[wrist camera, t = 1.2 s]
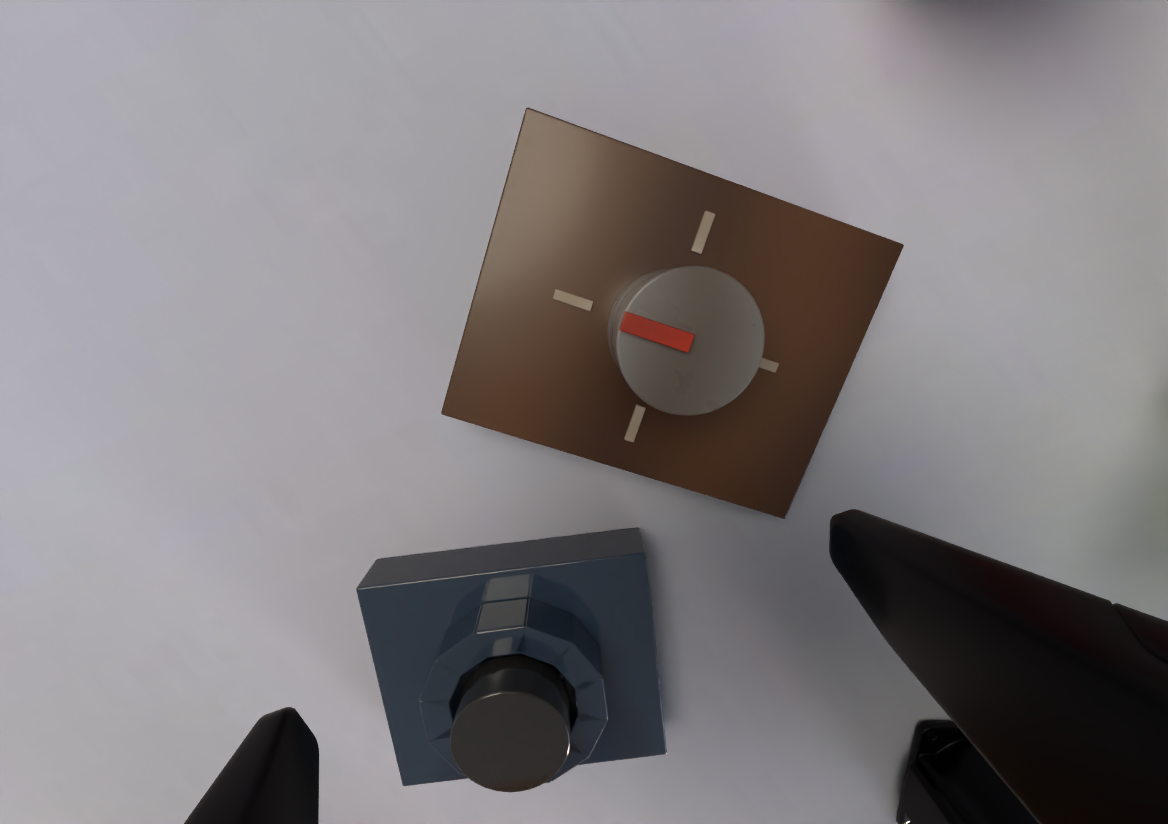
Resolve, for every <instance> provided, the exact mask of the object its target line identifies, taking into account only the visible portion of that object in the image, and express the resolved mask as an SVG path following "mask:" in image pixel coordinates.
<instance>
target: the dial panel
mask: <svg viewBox="0 0 1168 824" xmlns="http://www.w3.org/2000/svg"><path fill="white" fill-rule="evenodd" d="M903 246H904V245H903V244H901V243H898V242H895V241H893V240H890V239H887V238H885V237H882V236H879V235H876V234H874V233H871V232H868V231H865V230H863V229H860V228H857V227H854V226H852V225H849V224H846V223H843V222H841V221H838V220H835V219H832V218H830V217H827V216H824V215H821V214H819V213H816V212H813V211H810V210H808V209H805V208H802V207H799V206H797V205H794V204H791V203H789V202H786V201H783V200H780V199H778V198H775V197H772V196H769V195H767V194H764V193H761V192H758V191H756V190H753V189H750V188H747V187H745V186H742V185H739V184H736V183H734V182H731V181H728V180H725V179H723V178H720V177H717V176H714V175H712V174H709V173H706V172H703V171H701V170H698V169H695V168H693V167H690V166H687V165H684V164H682V163H679V162H676V161H673V160H671V159H668V158H665V157H662V156H660V155H657V154H654V153H651V152H649V151H646V150H643V149H640V148H638V147H635V146H632V145H629V144H627V143H624V142H621V141H618V140H616V139H613V138H610V137H607V136H605V135H602V134H599V133H597V132H594V131H591V130H588V129H586V128H583V127H580V126H577V125H575V124H572V123H569V122H566V121H564V120H561V119H558V118H555V117H553V116H550V115H547V114H544V113H542V112H539V111H536V110H533V109H531V108H526V110H525V114H524V118H523V121H522V125H521V128H520V132H519V135H518V139H517V143H516V146H515V150H514V153H513V157H512V161H511V164H510V168H509V171H508V175H507V178H506V182H505V186H504V189H503V193H502V196H501V200H500V204H499V207H498V211H497V214H496V218H495V222H494V225H493V229H492V232H491V236H490V239H489V243H488V247H487V250H486V254H485V257H484V261H483V265H482V268H481V272H480V275H479V279H478V283H477V286H476V290H475V293H474V297H473V300H472V304H471V308H470V311H469V315H468V318H467V322H466V326H465V329H464V333H463V336H462V340H461V344H460V347H459V351H458V354H457V358H456V361H455V365H454V369H453V372H452V376H451V379H450V383H449V387H448V390H447V394H446V397H445V401H444V405H443V408H442V412H441V414H443V415H446V416H449V417H452V418H456V419H459V420H462V421H466V422H469V423H472V424H475V425H479V426H482V427H485V428H488V429H492V430H495V431H498V432H502V433H505V434H508V435H511V436H515V437H518V438H521V439H524V440H528V441H531V442H534V443H538V444H541V445H544V446H547V447H551V448H554V449H557V450H560V451H564V452H567V453H570V454H574V455H577V456H580V457H583V458H587V459H590V460H593V461H596V462H600V463H603V464H606V465H610V466H613V467H616V468H619V469H623V470H626V471H629V472H632V473H636V474H639V475H642V476H646V477H649V478H652V479H655V480H659V481H662V482H665V483H669V484H672V485H675V486H678V487H682V488H685V489H688V490H691V491H695V492H698V493H701V494H705V495H708V496H711V497H714V498H718V499H721V500H724V501H727V502H731V503H734V504H737V505H741V506H744V507H747V508H750V509H754V510H757V511H760V512H763V513H767V514H770V515H773V516H777V517H780V518H783V519H785V517H786V515H787V513H788V510H789V508H790V506H791V503H792V501H793V499H794V497H795V494H796V492H797V490H798V487H799V485H800V483H801V481H802V478H803V476H804V474H805V471H806V469H807V467H808V464H809V462H810V460H811V458H812V455H813V453H814V451H815V448H816V446H817V444H818V441H819V439H820V437H821V435H822V432H823V430H824V428H825V425H826V423H827V421H828V418H829V416H830V414H831V412H832V409H833V407H834V405H835V402H836V400H837V398H838V395H839V393H840V391H841V389H842V386H843V384H844V382H845V379H846V377H847V375H848V373H849V370H850V368H851V366H852V363H853V361H854V359H855V356H856V354H857V352H858V350H859V347H860V345H861V343H862V340H863V338H864V336H865V333H866V331H867V329H868V327H869V324H870V322H871V320H872V317H873V315H874V313H875V310H876V308H877V306H878V304H879V301H880V299H881V297H882V294H883V292H884V290H885V287H886V285H887V283H888V281H889V278H890V276H891V274H892V271H893V269H894V267H895V265H896V262H897V260H898V258H899V255H900V253H901V251H902V248H903ZM683 266H704V267H710V268H713V269H717V270H720V271H722V272H724V273H727V274H728V275H730V276H732V277H733V278H735V279H736V280H737V281H739V282H740V283H741V284H742V285H743V286H744V287H745V288H746V289H747V290H748V291H749V292H750V294H751V295H752V297H753V298H754V300H755V302H756V304H757V306H758V307H759V310H760V313H761V316H762V319H763V324H764V332H765V342H764V350H763V356H762V359H761V362H760V365H759V367H758V370H757V372H756V374H755V376H754V377H753V379H752V380H751V382H750V383H749V385H748V386H747V387H746V388H745V389H744V391H743V392H742V393H741V394H739V395H738V396H737V397H736V398H735V399H734V400H732V401H731V402H730V403H728V404H726V405H724V406H723V407H721V408H719V409H716V410H714V411H712V412H708V413H704V414H699V415H690V416H682V415H674V414H670V413H666V412H663V411H660V410H658V409H655V408H654V407H652V406H650V405H648V404H647V403H646V402H644V401H643V400H642V399H640V398H639V397H638V396H637V395H636V394H635V393H634V392H633V391H632V389H631V388H630V387H629V385H628V384H627V382H626V380H625V379H624V377H623V375H622V374H621V372H620V370H619V368H618V367H617V365H616V363H615V361H614V360H613V357H612V355H611V353H610V349H609V345H608V339H607V326H608V320H609V316H610V312H611V310H612V307H613V305H614V303H615V301H616V300H617V298H618V296H619V295H620V294H621V292H622V291H623V290H624V289H625V288H626V287H627V286H628V285H629V284H630V283H632V282H633V281H634V280H636V279H637V278H639V277H641V276H642V275H645V274H647V273H649V272H653V271H656V270H662V269H669V268H676V267H683Z"/></svg>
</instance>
